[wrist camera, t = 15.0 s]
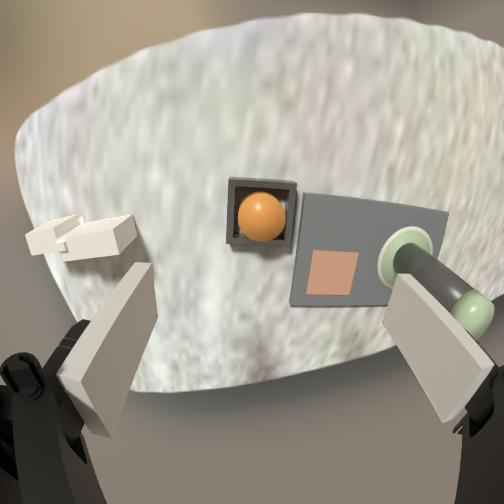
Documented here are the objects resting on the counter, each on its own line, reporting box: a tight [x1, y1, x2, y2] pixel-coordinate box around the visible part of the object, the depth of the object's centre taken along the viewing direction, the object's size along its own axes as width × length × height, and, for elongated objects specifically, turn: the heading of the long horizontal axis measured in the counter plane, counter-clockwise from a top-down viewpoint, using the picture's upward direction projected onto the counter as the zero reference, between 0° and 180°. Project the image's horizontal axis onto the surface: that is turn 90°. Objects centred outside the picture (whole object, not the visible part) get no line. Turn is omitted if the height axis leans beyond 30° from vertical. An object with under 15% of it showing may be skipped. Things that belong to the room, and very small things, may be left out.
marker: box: [393, 243, 494, 340], centre depth 22 cm, size 4×4×13 cm
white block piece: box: [25, 214, 138, 262], centre depth 24 cm, size 15×11×6 cm
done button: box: [238, 191, 286, 242], centre depth 24 cm, size 4×4×2 cm
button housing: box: [226, 177, 297, 247], centre depth 26 cm, size 6×6×2 cm
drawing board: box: [289, 192, 449, 306], centre depth 28 cm, size 18×12×1 cm, turn 86°
